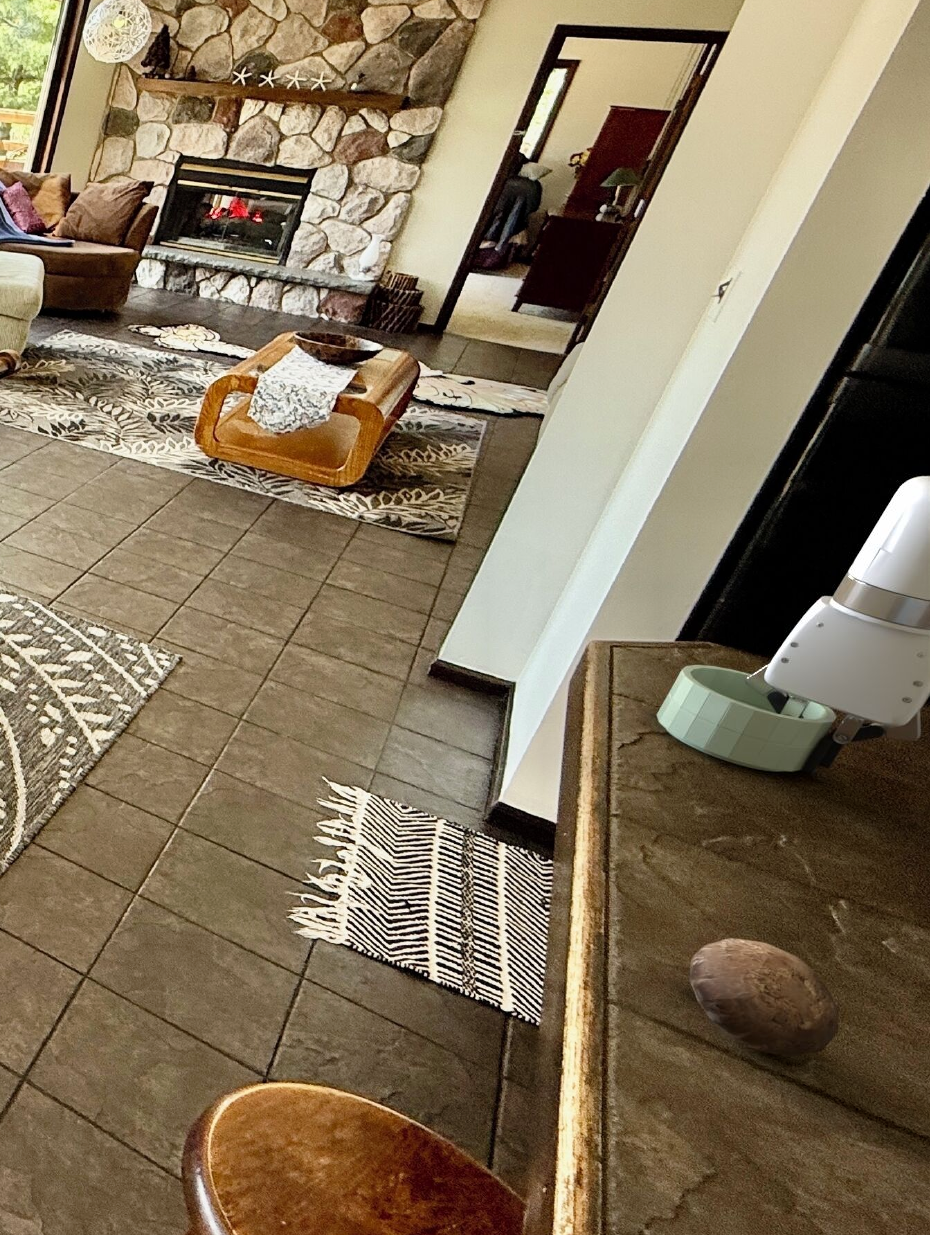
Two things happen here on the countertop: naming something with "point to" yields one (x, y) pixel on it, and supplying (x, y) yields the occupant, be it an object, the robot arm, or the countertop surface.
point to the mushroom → (764, 997)
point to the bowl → (740, 721)
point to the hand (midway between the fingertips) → (794, 761)
